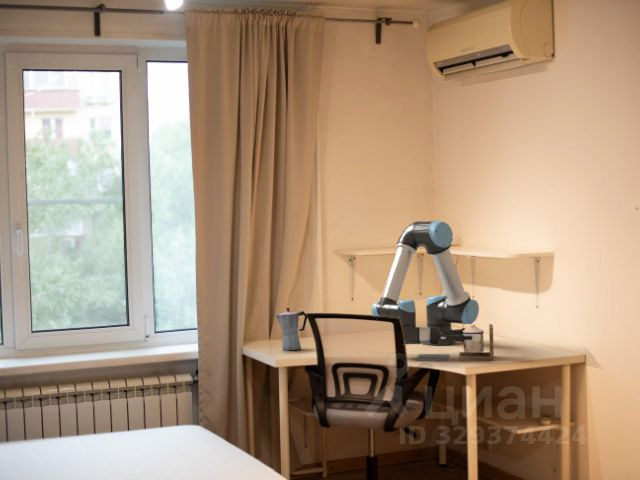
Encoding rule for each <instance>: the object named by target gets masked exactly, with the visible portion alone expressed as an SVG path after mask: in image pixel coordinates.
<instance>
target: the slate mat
mask: <svg viewBox="0 0 640 480" xmlns="http://www.w3.org/2000/svg"><path fill="white" fill-rule="evenodd" d="M448 360H449V353H448V354H447V353H439V354H438V353H432V354H431V353H420V354H418V356H417V359H416V361H417V362H448Z"/></svg>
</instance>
